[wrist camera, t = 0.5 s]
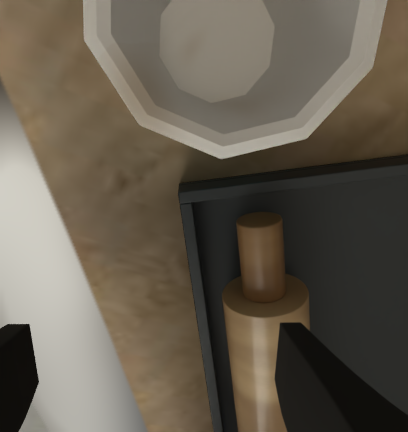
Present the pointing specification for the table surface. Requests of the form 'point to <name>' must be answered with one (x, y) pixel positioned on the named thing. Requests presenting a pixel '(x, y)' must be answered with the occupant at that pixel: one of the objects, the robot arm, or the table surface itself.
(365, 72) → the mug
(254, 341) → the rolling pin
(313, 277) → the pastry tray
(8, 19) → the table surface
